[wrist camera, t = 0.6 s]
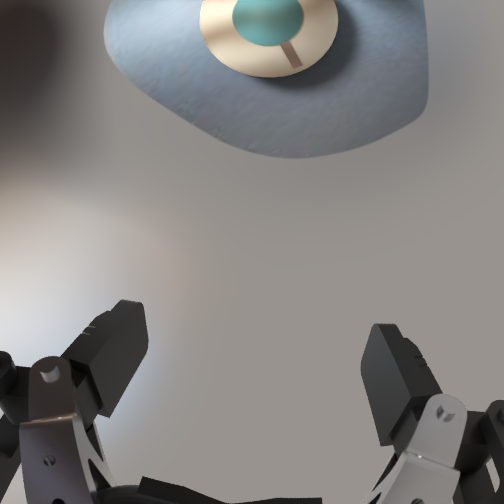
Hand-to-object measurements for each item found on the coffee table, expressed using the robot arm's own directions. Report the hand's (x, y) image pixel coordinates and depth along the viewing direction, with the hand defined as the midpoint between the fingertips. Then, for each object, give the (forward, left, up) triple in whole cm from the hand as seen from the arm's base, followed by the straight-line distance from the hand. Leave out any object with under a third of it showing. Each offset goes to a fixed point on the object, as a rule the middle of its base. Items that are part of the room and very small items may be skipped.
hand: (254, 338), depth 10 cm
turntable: (-14, +5, -26) cm, 30 cm away
